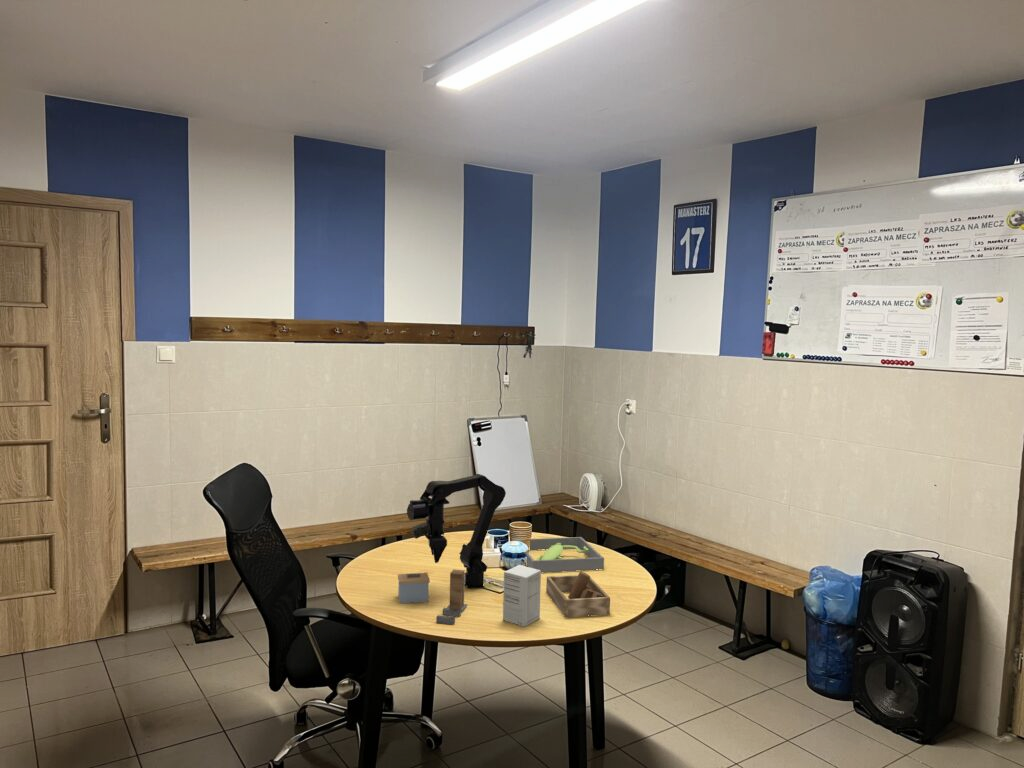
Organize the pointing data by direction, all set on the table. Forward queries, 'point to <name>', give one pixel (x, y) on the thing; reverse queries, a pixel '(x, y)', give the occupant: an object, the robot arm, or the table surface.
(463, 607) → the pad
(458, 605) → the brown block
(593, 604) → the block corral
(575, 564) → the tray
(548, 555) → the figurine
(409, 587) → the toolbox
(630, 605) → the table surface
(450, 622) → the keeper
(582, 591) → the wooden block set
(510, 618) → the supplement box
